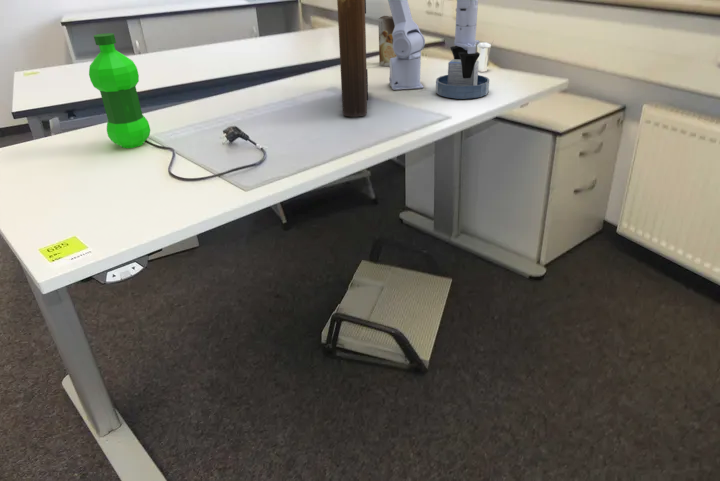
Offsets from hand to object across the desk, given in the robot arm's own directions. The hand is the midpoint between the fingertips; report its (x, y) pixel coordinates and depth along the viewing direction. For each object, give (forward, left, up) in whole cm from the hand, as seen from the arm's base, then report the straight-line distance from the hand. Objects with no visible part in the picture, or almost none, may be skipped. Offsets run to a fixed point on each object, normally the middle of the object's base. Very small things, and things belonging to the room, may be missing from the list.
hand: (463, 74), depth 156 cm
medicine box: (0, 0, -5) cm, 5 cm away
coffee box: (-14, +42, -5) cm, 45 cm away
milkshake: (+14, +25, -5) cm, 29 cm away
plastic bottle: (-88, -27, -5) cm, 92 cm away
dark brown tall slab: (-32, -6, -5) cm, 33 cm away
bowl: (0, 0, -5) cm, 5 cm away
